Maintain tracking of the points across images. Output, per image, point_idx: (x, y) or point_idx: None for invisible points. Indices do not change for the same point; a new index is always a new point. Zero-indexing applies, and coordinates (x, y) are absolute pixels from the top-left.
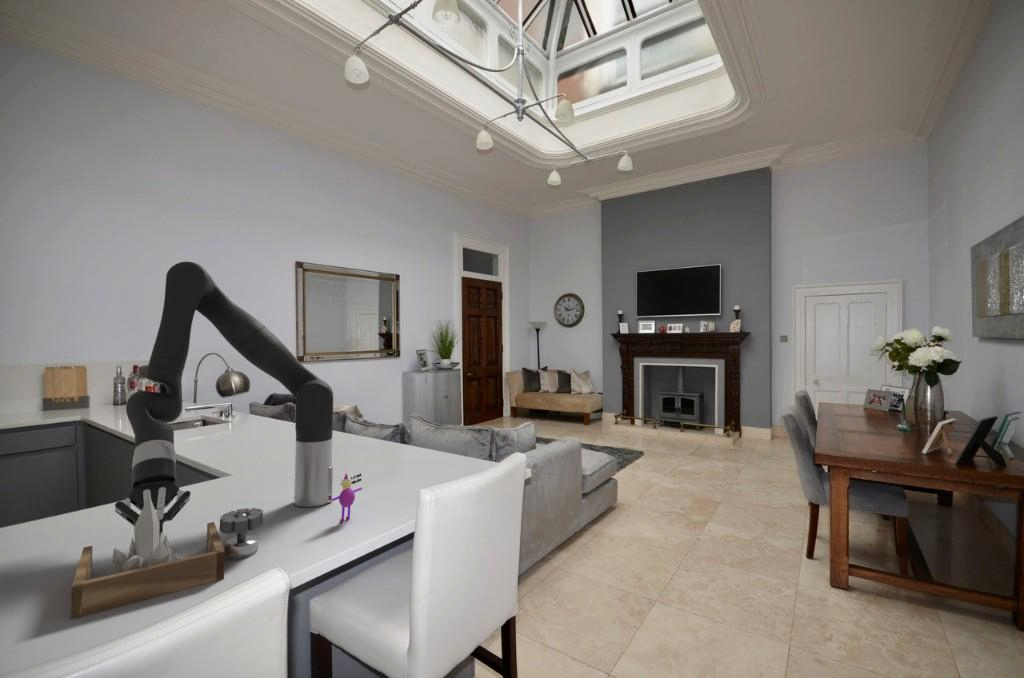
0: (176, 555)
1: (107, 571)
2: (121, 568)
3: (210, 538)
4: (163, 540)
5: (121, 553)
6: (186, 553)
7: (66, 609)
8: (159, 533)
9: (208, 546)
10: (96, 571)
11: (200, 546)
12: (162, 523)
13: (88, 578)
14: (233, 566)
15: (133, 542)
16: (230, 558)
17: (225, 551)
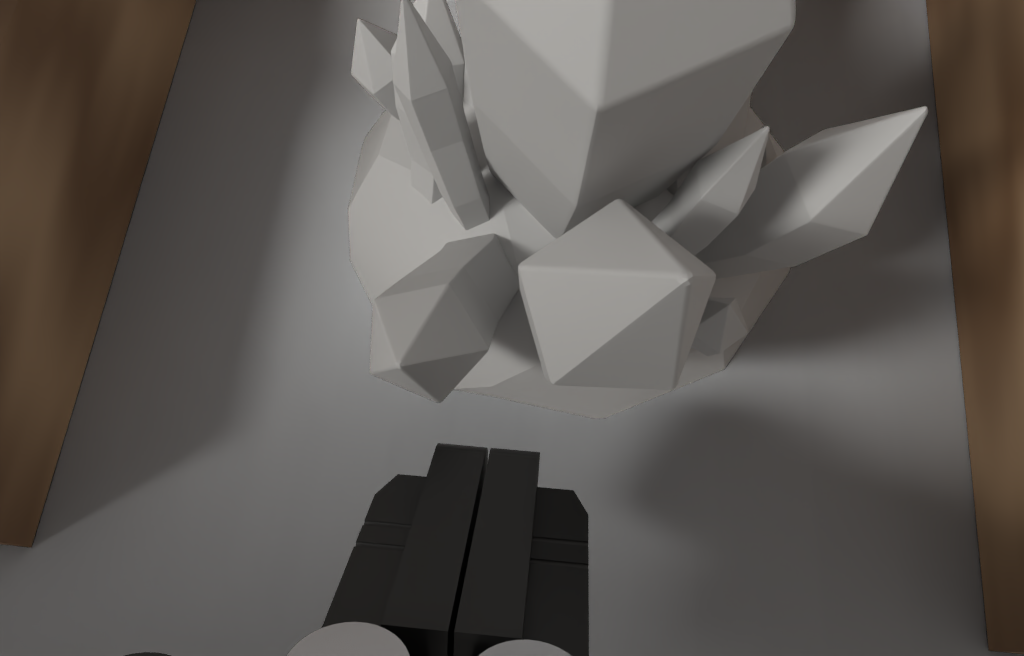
0: (369, 29)
1: (856, 568)
2: (775, 154)
3: (11, 149)
4: (410, 291)
5: (823, 140)
6: (224, 510)
7: None
8: (413, 501)
9: (46, 367)
10: (949, 646)
11: (67, 610)
12: (334, 607)
13: (995, 295)
14: None
15: (736, 141)
16: None
17: None
